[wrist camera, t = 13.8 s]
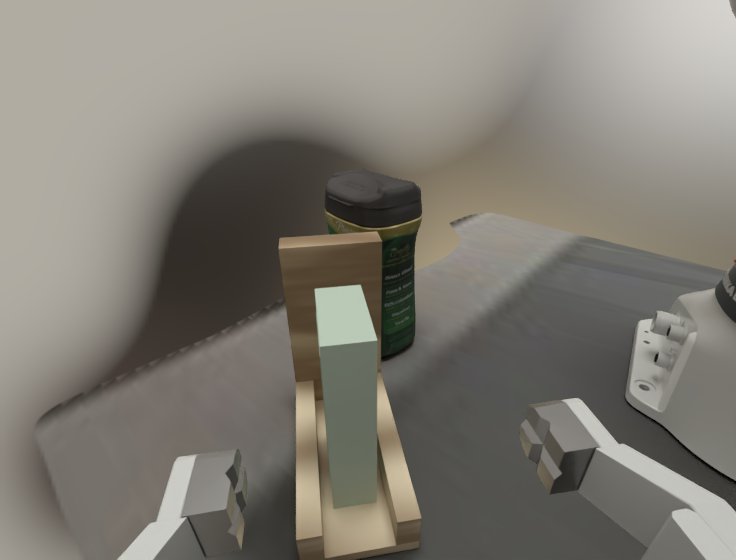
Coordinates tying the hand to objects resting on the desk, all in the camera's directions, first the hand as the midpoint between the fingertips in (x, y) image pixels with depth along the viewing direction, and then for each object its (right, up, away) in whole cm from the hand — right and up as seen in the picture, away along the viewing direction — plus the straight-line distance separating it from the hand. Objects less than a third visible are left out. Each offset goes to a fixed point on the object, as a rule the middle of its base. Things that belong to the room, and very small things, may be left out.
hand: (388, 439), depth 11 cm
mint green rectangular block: (-2, -10, +18) cm, 21 cm away
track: (-2, -10, +20) cm, 22 cm away
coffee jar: (0, -2, +34) cm, 34 cm away
